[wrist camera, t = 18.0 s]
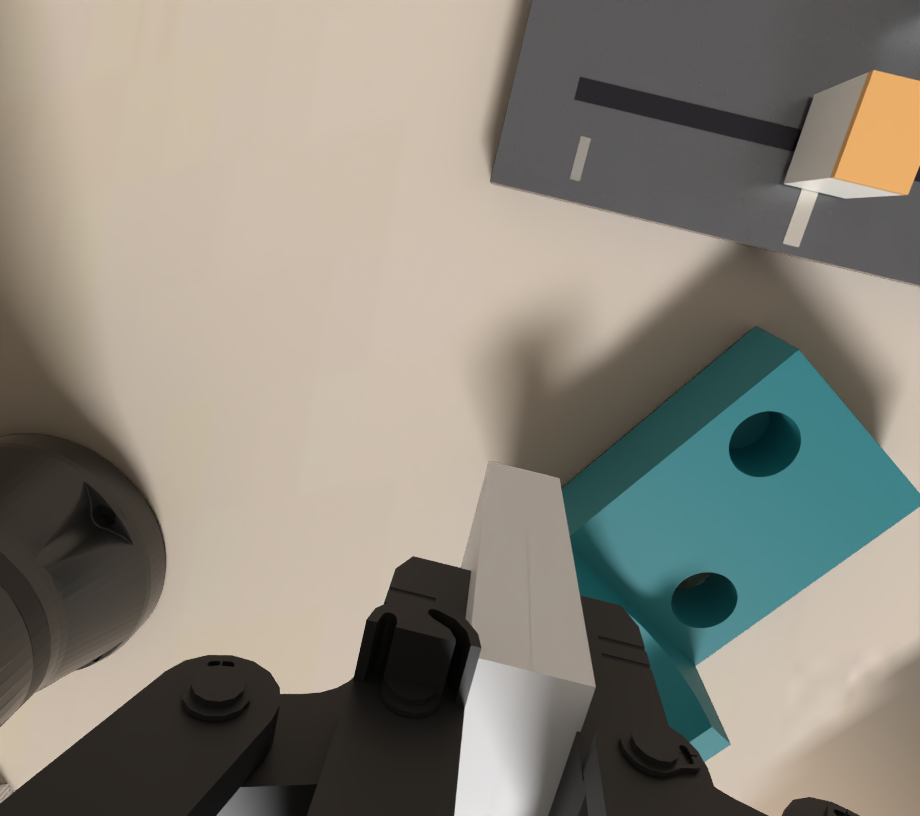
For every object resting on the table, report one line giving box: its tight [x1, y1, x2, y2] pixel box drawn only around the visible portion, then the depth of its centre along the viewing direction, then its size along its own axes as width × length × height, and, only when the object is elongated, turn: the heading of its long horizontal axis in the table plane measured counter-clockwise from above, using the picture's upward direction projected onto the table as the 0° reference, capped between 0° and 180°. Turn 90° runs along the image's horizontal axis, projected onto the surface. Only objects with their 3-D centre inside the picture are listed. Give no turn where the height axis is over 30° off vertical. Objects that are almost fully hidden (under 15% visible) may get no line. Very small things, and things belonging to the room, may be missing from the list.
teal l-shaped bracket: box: [561, 326, 920, 762], centre depth 35 cm, size 18×11×10 cm, turn 134°
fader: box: [784, 70, 920, 199], centre depth 29 cm, size 3×4×5 cm
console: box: [490, 0, 920, 287], centre depth 32 cm, size 25×18×2 cm
